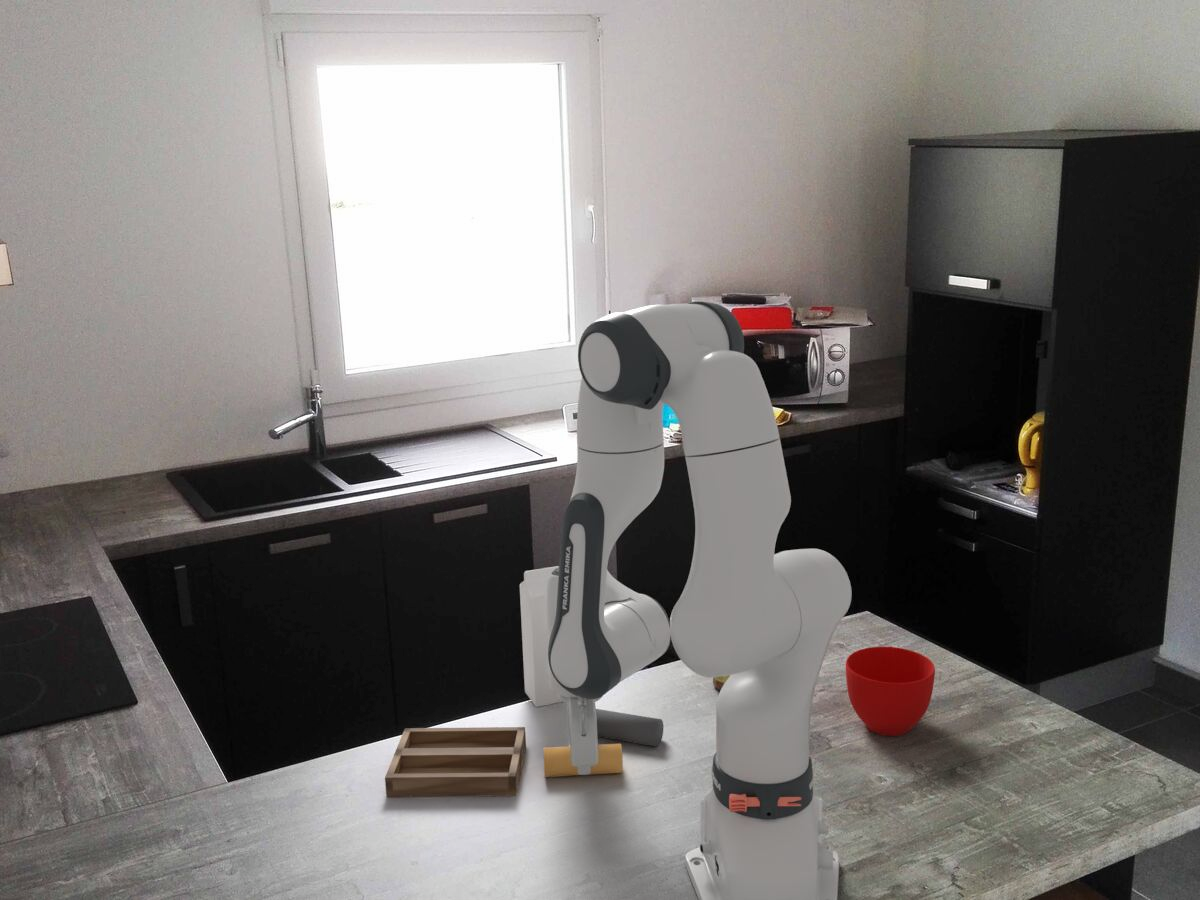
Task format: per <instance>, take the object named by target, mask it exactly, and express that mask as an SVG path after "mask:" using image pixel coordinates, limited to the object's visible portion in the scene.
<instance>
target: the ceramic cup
mask: <svg viewBox="0 0 1200 900" xmlns="http://www.w3.org/2000/svg"><path fill="white" fill-rule="evenodd" d="M935 675H936V668H935V665H934V663H933V662H932V660H931V659H929V658H928V657H927V656H925V655H923V654H921V653H920V652H917V651H913V650H910V649H907V648H903V647H894V646H891V645H889V646H872V647H866V648H862V649H859V650H855V651H854V652H852V653H851V654H849V655H848V657H847V658H846V661H845V681H846V688H847V689H846V690H847V694H848V699H849V702H850V705H851V707H852V708H853V710H854V713H855V714H856V715H857V717H858V718H859V719H860V721H861V722H862V723H863V724H865V726H866V728H868V730H870V731H871V732H873V733H876V734H879V735H883V736H891V737H892V736H902V735H904V734H907V733H908V732H910V731H911V729H912V728H914V726H916V725H917V724H918V723H919V722H920V721H921V720H922V718H923V717H924V715H925V713H926V712H927V710H928V708H929V706H930V702H931V700H932V694H933V690H934V689H933V688H934V683H935Z"/></svg>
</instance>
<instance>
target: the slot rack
mask: <svg viewBox="0 0 1200 900" xmlns="http://www.w3.org/2000/svg"><path fill="white" fill-rule="evenodd" d="M526 737H527V735H526V727H525V726H519V727H518V726H510V727H509V726H505V727H503V726H502V727H500V726H497V727H496V726H495V727H494V726H493V727H488V726H487V727H483V726H482V727H414V728H413V727H411V728H410V727H409V728H407V727H405V728H404V730H403V732H402V735H401V737H400V740H399V742H398V744H397V747H396V749H395V752H394V754H393V757H392V759H391V762H390V763H389V766H388V769H387V772H386V773H385V777H384V782H385V784H384V785H385V794H386V798H425V797H426V798H432V797H433V798H434V797H435V798H438V797H439V798H440V797H442V798H443V797H448V798H449V797H516V796H517V795H518V794H517V793H518V790H519V784H520V779H521V778H520V777H521V773H522V767H523V763H524V759H525V752H526V747H527V746H526V745H527V742H526V741H527V739H526Z"/></svg>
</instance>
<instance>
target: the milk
mask: <svg viewBox="0 0 1200 900" xmlns="http://www.w3.org/2000/svg"><path fill="white" fill-rule="evenodd" d="M558 567H559V565H556V566H551V567H542V568H538V569H531V570H525V571H524V572H523V581H521V582H520V584H519V598H520V601H519V602H520V617H521V619H520V620H521V636H522V637H521V641H522V656H523V657H522V661H523V679H524V693H525V694H526V695H527V697H528V698H529V700H530V701H531V702H532V704H533V705H534V707H535V708H539V707H543V706H549V705H554V704H558V703H564V702H563V701H562V700H560V698H559V697H558V694H556V693H555V692H553V691H552V690H551V689H550V687H549V677H548V655H547V652H548V645H549V639H550V637H549V633H548V630H547V627H546V588H547V583H548V579H549V576H550V574H551V573H552V572H553V571H554V570H555V569H556V568H558Z"/></svg>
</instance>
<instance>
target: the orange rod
mask: <svg viewBox="0 0 1200 900" xmlns="http://www.w3.org/2000/svg"><path fill="white" fill-rule="evenodd" d="M622 749H623V747H622V743H607V744H598V763H597V765H595V766H590V769H591V772H590V774H588V776H589V775H603V774H620V773H621V774H623V772H624V766H623V765H624V763H623V761H624V760H623V750H622ZM543 770H544V777H545V778H548V777H568V776H569V777H570V776H581V775H580V774H578V768H577V767H575V766H573V765H572V763H571V753H570V745H567V746H554V747H553V746H551V747H543Z"/></svg>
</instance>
